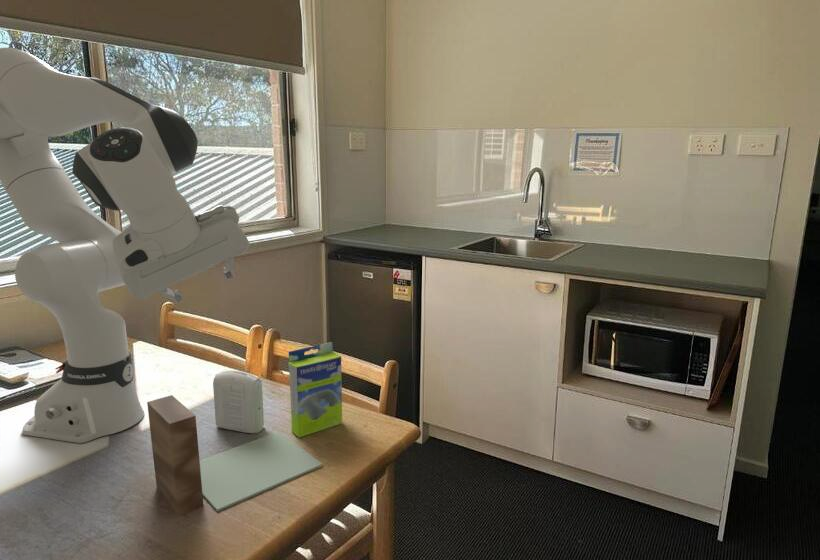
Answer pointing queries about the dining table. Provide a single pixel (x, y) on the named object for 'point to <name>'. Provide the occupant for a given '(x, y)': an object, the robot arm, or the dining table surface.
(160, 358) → the dining table surface
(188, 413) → the walnut block
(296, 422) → the box
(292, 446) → the mat
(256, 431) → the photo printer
